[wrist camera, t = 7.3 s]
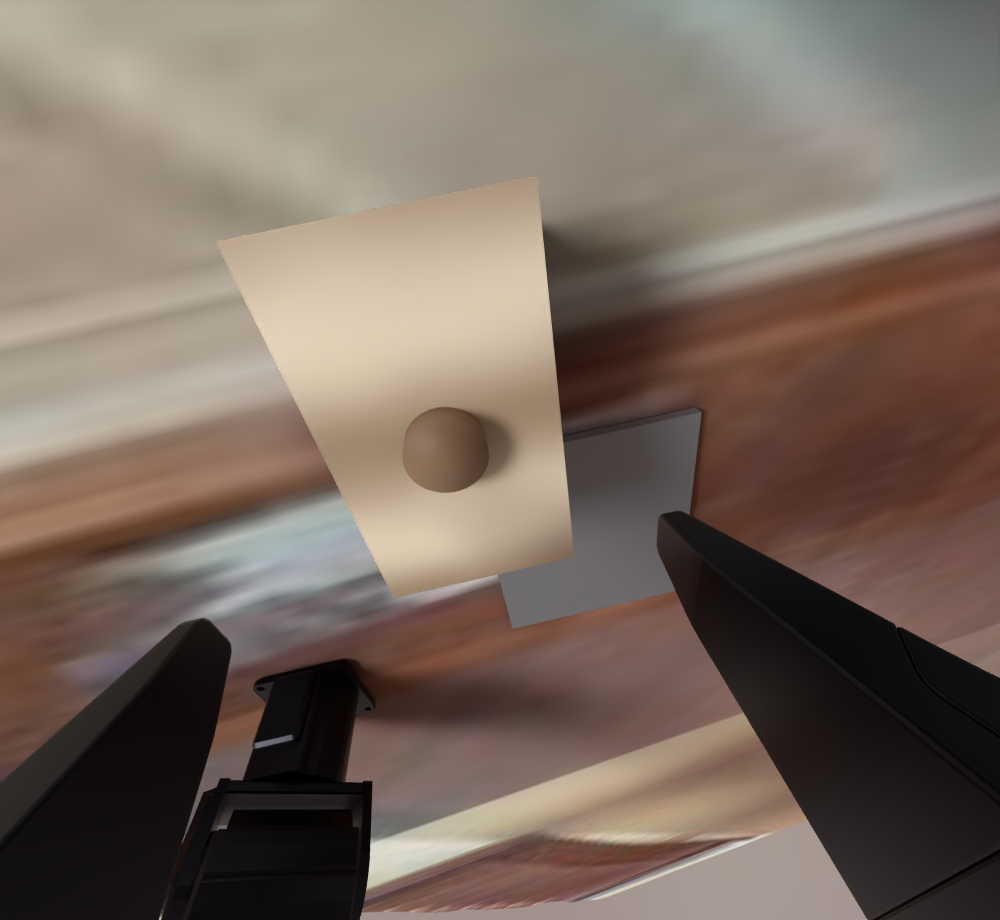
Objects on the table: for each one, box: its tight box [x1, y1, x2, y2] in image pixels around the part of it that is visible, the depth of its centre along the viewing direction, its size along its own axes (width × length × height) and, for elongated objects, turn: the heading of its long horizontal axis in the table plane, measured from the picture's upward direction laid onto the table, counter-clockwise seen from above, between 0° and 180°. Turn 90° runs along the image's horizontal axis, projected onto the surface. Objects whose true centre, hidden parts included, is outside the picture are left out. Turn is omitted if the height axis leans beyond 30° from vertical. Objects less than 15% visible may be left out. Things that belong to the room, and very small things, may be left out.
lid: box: [216, 175, 574, 598], centre depth 13 cm, size 12×7×4 cm, turn 10°
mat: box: [498, 407, 702, 628], centre depth 24 cm, size 14×12×1 cm
